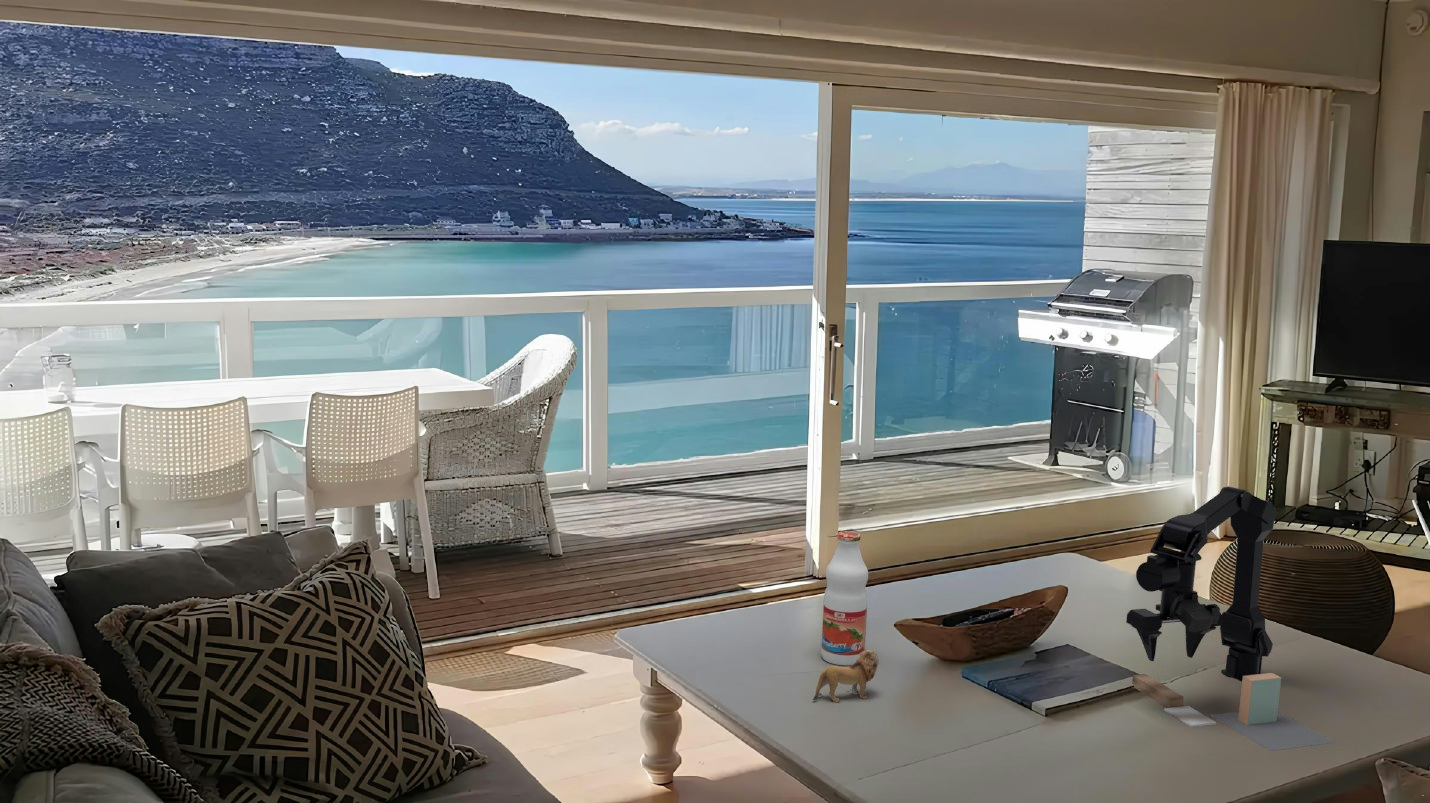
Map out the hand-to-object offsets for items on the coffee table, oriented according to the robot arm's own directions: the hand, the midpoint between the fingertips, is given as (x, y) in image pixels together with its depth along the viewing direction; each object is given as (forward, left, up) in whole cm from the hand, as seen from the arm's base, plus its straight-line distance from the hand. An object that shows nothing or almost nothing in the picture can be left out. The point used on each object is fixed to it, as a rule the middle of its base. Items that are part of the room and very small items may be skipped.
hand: (1170, 658), depth 230 cm
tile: (-12, +12, -9) cm, 19 cm away
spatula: (0, +1, -10) cm, 10 cm away
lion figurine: (+62, -19, -10) cm, 65 cm away
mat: (-12, +15, -10) cm, 22 cm away
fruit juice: (+54, -38, -10) cm, 67 cm away
